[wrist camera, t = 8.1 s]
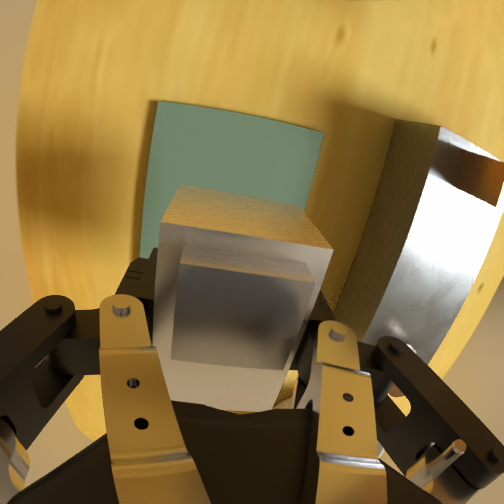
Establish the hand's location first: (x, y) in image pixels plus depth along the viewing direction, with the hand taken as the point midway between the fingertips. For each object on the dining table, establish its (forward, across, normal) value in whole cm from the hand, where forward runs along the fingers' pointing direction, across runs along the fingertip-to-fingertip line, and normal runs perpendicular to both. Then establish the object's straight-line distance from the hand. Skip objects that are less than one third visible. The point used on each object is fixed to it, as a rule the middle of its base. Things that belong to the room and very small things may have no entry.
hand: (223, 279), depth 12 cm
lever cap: (0, 0, 0) cm, 0 cm away
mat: (+8, 0, 0) cm, 8 cm away
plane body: (+8, -14, 0) cm, 16 cm away
